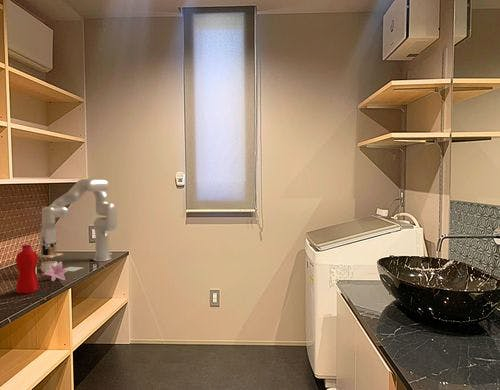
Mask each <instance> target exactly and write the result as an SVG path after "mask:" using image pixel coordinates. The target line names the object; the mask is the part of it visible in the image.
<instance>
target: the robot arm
mask: <svg viewBox="0 0 500 390" xmlns="http://www.w3.org/2000/svg"><path fill="white" fill-rule="evenodd" d="M109 188H110V183H109V181H108V180H106V179H92V178H89V179H88V178H87V179H86V178H83V179H79V180H78V181H76V182H75V184H73V186H72V187H71V188H70V189H69V190H68V191H67V192H66V193H64V194H62V195H61V196H60V197H58V198H56V199H55V200H53V202H52V203H51V204H50V205H49V206H44V207H42V208H41V229H40V234H39V243H38V244H39V246H40V248H42V249H43V255H48V249H47V247H56V245H57V243H58V238H57V230H56V229H57V228H56V218H65V217H67V216H68V214H69V209H68V208H67V207H66V206H68V205H70V204H71V205H72V204H73V203H76V202H77V201H79V200H80V199H81V197H83V196H84V194H85V193H87V192H92V193H93V195H94V197H95V213H96V214H97V215H98V216H99V217H97V218H96V219H95V220H94V221H93V229H94V233H95V234H94V235H95V239H94V240H95V243H94V245H95V257H94V258H93V259H92V260H93V261H95V262H107V261H110V260H111V261H112V257H111V256H112V255H113V253H112V252H110V234H109V232H112V231H115V230H116V228H117V226H118V209H117V207H116V205H115V204H114V203H112V202H109V197H108V193H107V191H108V190H109ZM101 216H102V217H101ZM108 231H109V232H108ZM48 245H49V246H48Z"/></svg>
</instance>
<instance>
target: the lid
mask: <svg viewBox="0 0 500 390" xmlns="http://www.w3.org/2000/svg"><path fill="white" fill-rule="evenodd" d="M47 249H48V255H43V249H42V247H40V253H39V254H37V255H38V258H49V259H50V258H51V259H52V258H55V257H58V256H63V255H64V252H58V251H57V246H55V247H51V246H47Z"/></svg>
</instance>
